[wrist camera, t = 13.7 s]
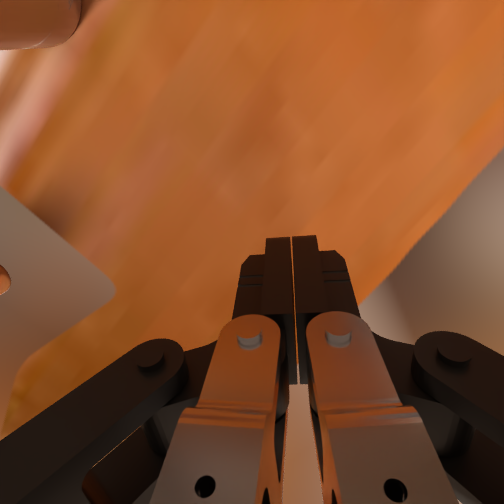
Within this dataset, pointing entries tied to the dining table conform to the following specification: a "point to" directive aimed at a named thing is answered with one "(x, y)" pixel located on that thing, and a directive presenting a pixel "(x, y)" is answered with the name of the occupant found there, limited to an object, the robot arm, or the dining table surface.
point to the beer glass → (4, 280)
